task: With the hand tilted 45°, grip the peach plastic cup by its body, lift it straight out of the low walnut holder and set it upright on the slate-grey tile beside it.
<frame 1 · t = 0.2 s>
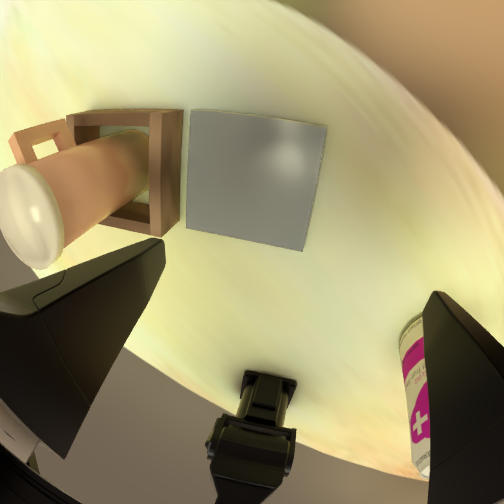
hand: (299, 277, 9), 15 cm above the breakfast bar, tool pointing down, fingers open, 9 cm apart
peach plastic cup: (79, 171, 19), in the holder
supplement can: (433, 334, 27), on the breakfast bar
holder: (132, 162, 25), on the breakfast bar
tile: (251, 177, 23), on the breakfast bar
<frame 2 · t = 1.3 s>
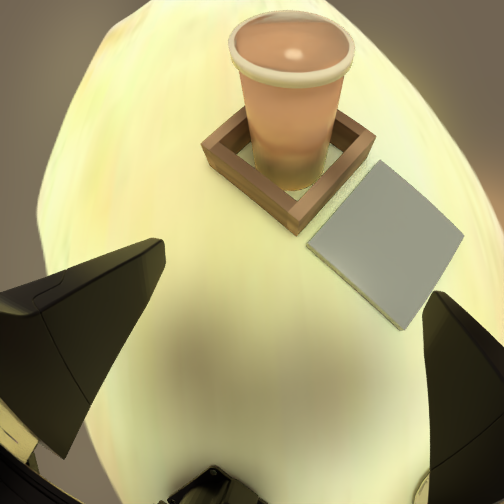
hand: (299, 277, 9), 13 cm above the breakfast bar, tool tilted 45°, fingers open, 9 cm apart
peach plastic cup: (292, 100, 19), in the holder
holder: (289, 159, 25), on the breakfast bar
tile: (391, 242, 23), on the breakfast bar
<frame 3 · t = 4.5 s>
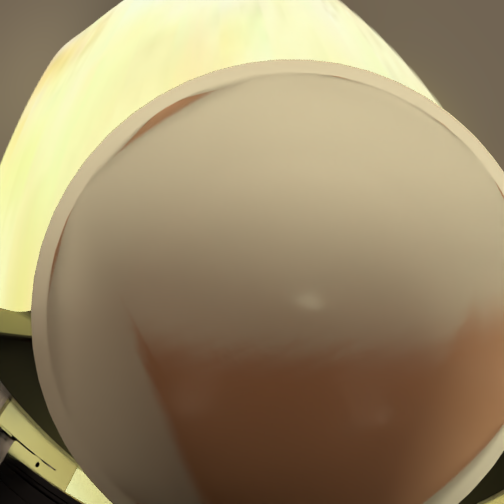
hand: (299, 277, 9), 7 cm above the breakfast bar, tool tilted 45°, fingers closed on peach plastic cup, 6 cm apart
peach plastic cup: (295, 288, 9), in the holder, touching gripper
when the fingers open (9 cm above the breakfast bar, at t = 8.7 s): peach plastic cup drops 1 cm, resting on tile.
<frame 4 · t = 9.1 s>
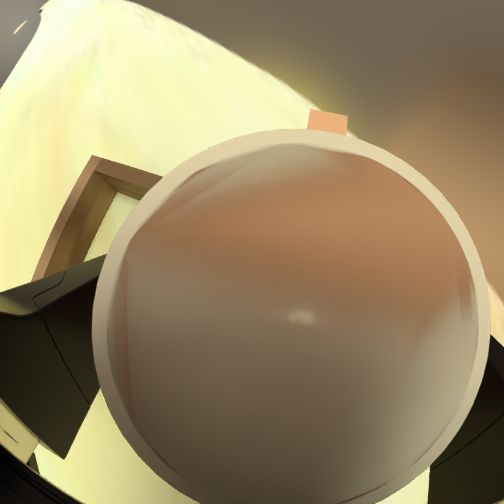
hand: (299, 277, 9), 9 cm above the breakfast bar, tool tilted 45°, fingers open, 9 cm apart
peach plastic cup: (294, 297, 11), on the tile, point 8 cm above the breakfast bar
holder: (132, 257, 20), on the breakfast bar
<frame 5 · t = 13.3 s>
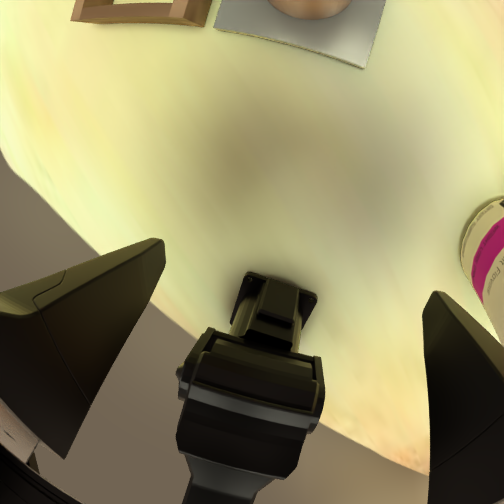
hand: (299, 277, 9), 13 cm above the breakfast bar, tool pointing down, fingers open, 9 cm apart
supplement can: (495, 239, 19), on the breakfast bar
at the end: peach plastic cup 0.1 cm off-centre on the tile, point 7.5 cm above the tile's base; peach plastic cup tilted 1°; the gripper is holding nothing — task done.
